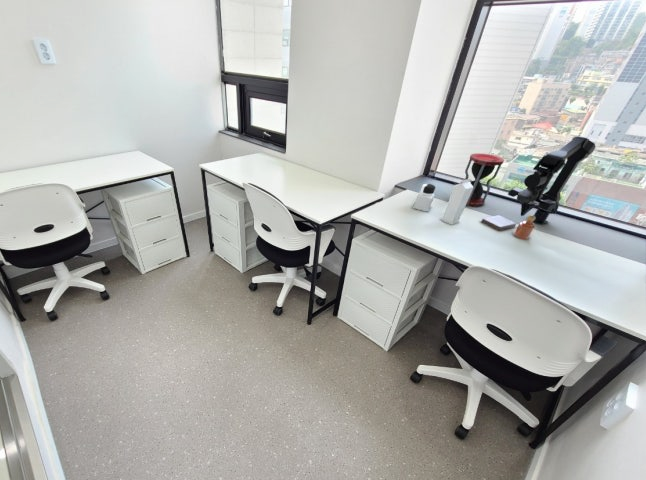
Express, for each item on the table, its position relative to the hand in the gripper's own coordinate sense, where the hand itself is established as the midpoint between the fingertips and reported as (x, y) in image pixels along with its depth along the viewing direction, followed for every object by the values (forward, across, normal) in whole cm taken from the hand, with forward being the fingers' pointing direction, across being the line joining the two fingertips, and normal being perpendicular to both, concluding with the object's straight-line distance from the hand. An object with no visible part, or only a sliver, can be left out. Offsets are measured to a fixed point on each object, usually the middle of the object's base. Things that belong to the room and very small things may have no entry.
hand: (521, 215), depth 148 cm
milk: (+9, -20, -21) cm, 30 cm away
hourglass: (+9, -36, +11) cm, 39 cm away
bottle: (+6, 0, 0) cm, 6 cm away
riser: (+9, -8, 0) cm, 12 cm away
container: (+9, -38, -23) cm, 45 cm away
